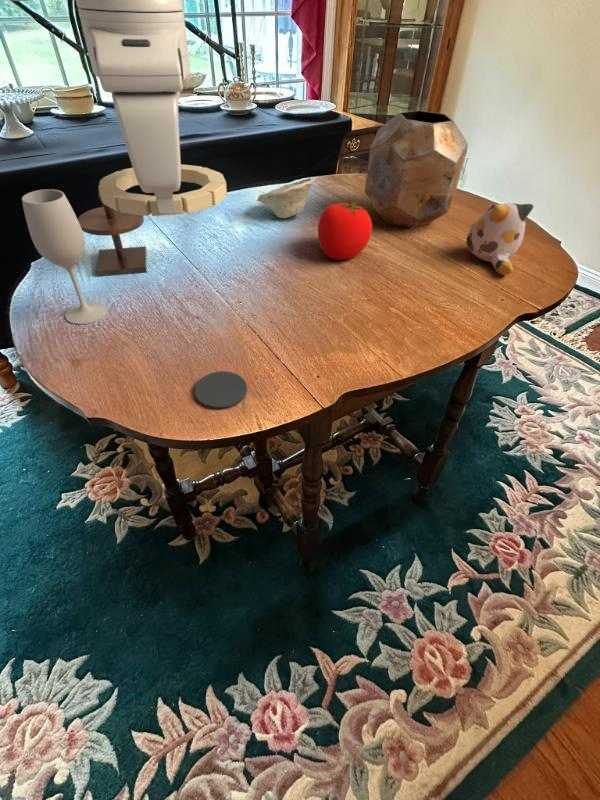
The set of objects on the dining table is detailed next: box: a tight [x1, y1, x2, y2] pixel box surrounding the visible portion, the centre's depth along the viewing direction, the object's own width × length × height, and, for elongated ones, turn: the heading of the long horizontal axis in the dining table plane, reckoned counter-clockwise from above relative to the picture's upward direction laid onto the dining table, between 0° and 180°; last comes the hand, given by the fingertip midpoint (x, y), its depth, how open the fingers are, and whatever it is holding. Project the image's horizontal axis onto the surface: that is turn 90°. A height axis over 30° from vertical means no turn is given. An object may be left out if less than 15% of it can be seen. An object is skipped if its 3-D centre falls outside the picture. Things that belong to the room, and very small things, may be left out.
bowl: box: [256, 177, 315, 219], centre depth 113 cm, size 15×14×10 cm
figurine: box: [466, 202, 534, 276], centre depth 97 cm, size 12×17×15 cm
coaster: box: [194, 370, 248, 410], centre depth 67 cm, size 8×8×1 cm
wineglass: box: [21, 188, 108, 326], centre depth 73 cm, size 8×8×21 cm
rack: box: [77, 192, 148, 278], centre depth 89 cm, size 13×13×15 cm
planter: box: [364, 110, 469, 229], centre depth 110 cm, size 22×24×24 cm
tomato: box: [317, 201, 373, 261], centre depth 98 cm, size 12×14×11 cm
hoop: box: [98, 163, 228, 217], centre depth 54 cm, size 15×15×2 cm
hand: (166, 206), depth 49 cm, fingers closed on hoop, 2 cm apart
